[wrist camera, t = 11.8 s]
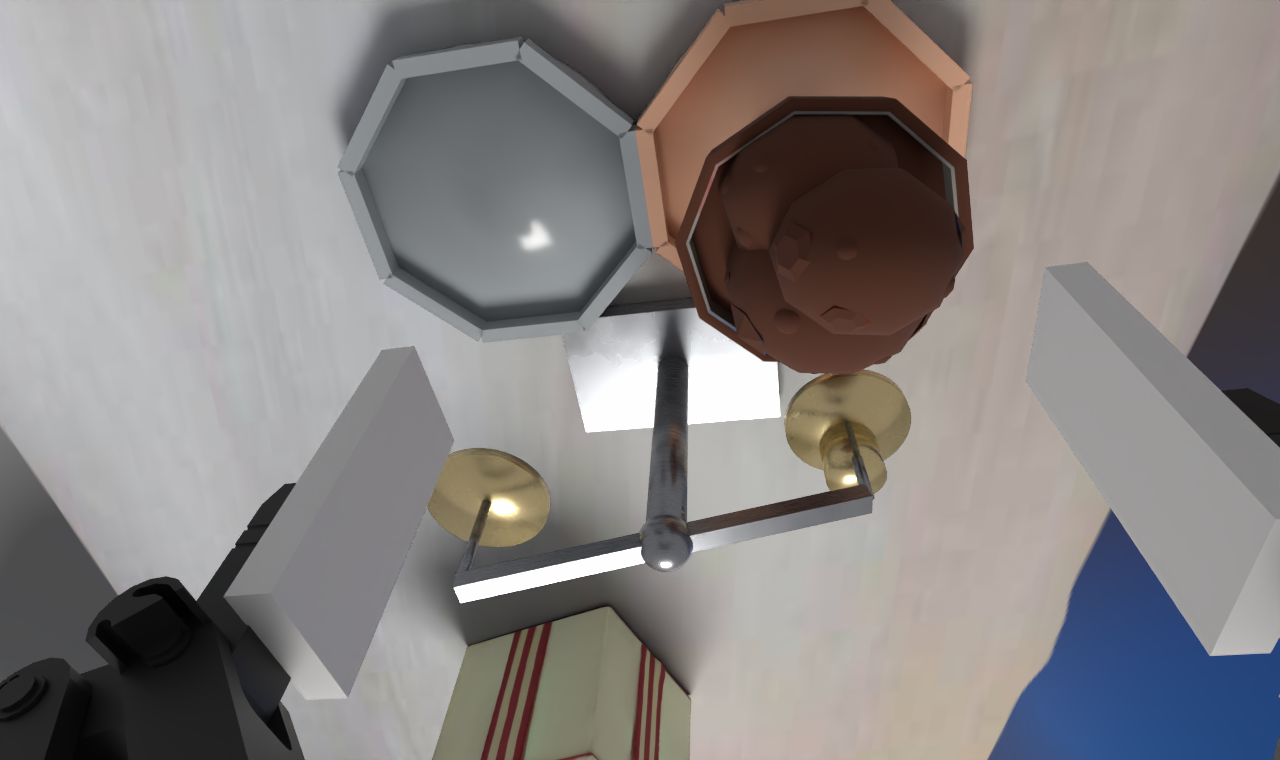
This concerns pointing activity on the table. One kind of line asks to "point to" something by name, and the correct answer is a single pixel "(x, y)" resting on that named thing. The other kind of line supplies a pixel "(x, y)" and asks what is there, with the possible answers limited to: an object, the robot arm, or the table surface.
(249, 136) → the table surface
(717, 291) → the ice cream bowl
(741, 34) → the terracotta dish
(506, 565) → the balance
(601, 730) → the gift box
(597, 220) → the slate dish
